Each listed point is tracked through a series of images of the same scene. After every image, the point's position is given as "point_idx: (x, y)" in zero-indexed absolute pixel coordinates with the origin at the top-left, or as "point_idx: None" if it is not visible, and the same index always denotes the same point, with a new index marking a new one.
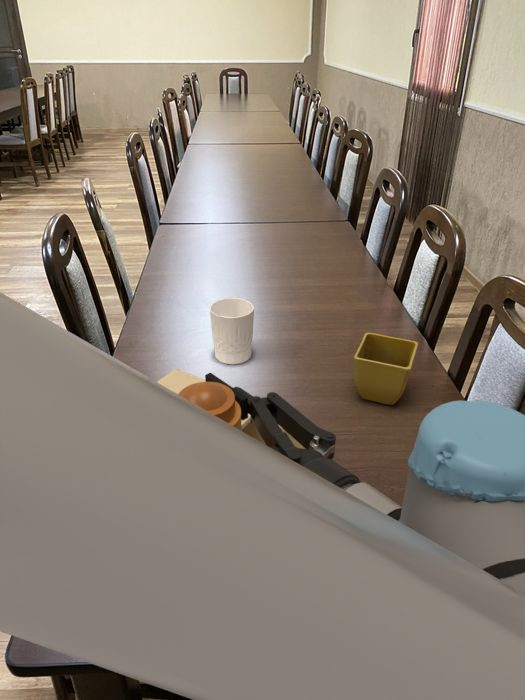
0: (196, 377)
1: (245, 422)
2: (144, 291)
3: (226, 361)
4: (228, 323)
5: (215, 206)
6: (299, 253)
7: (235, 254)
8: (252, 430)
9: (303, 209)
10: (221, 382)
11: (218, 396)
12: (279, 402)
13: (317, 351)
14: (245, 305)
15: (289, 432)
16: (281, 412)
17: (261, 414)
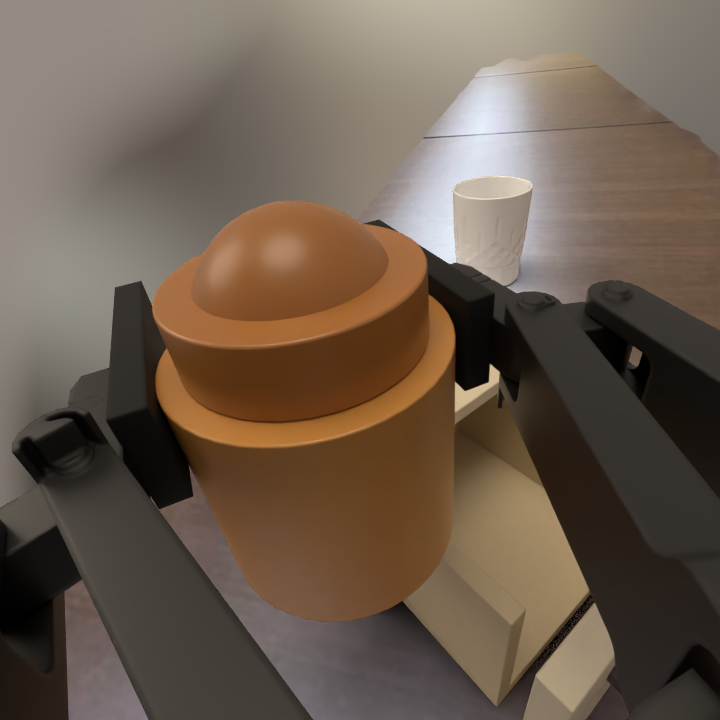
0: None
1: (487, 391)
2: (378, 199)
3: None
4: (482, 210)
5: (489, 120)
6: (604, 156)
7: (508, 160)
8: (504, 411)
9: (609, 115)
10: None
11: (329, 253)
12: (662, 324)
13: (643, 277)
14: (517, 188)
15: (715, 493)
16: (676, 377)
17: (560, 374)
